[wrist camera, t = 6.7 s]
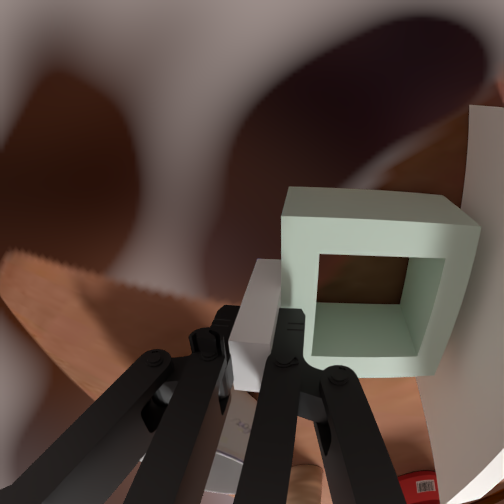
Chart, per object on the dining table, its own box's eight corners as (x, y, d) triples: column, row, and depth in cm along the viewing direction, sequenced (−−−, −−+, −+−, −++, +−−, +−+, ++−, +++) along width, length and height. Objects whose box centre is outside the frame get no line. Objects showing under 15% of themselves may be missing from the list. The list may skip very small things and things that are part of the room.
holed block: (442, 195, 16) (481, 226, 11) (416, 323, 20) (434, 375, 15) (288, 186, 17) (281, 216, 13) (287, 320, 21) (279, 375, 17)
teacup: (302, 405, 25) (294, 485, 18) (230, 442, 30) (213, 505, 23) (166, 313, 23) (117, 390, 16) (118, 372, 28) (80, 432, 21)
